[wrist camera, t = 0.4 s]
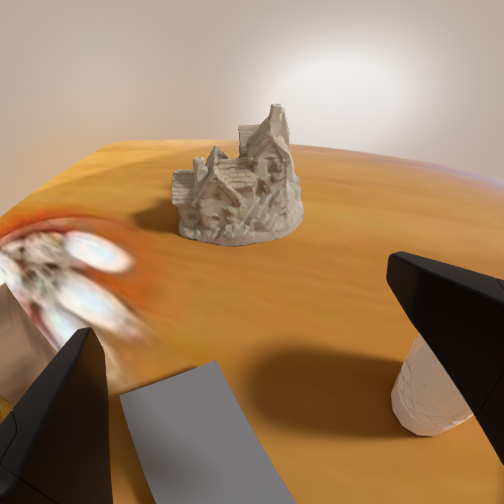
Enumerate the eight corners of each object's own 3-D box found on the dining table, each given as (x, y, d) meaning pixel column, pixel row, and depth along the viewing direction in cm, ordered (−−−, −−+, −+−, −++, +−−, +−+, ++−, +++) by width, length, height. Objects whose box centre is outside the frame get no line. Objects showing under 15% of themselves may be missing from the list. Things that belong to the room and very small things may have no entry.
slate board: (335, 565, 12) (341, 568, 11) (222, 609, 10) (217, 616, 9) (219, 372, 25) (215, 359, 23) (128, 405, 22) (119, 395, 21)
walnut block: (108, 424, 21) (11, 327, 12) (71, 445, 19) (-39, 359, 11) (89, 387, 23) (5, 282, 15) (55, 408, 22) (-41, 312, 13)
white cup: (364, 412, 21) (408, 341, 15) (410, 343, 25) (452, 259, 19) (443, 460, 17) (521, 408, 10) (479, 384, 21) (541, 311, 14)
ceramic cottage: (305, 177, 47) (300, 80, 37) (301, 254, 36) (295, 123, 25) (205, 180, 50) (185, 90, 40) (170, 252, 39) (130, 138, 28)
